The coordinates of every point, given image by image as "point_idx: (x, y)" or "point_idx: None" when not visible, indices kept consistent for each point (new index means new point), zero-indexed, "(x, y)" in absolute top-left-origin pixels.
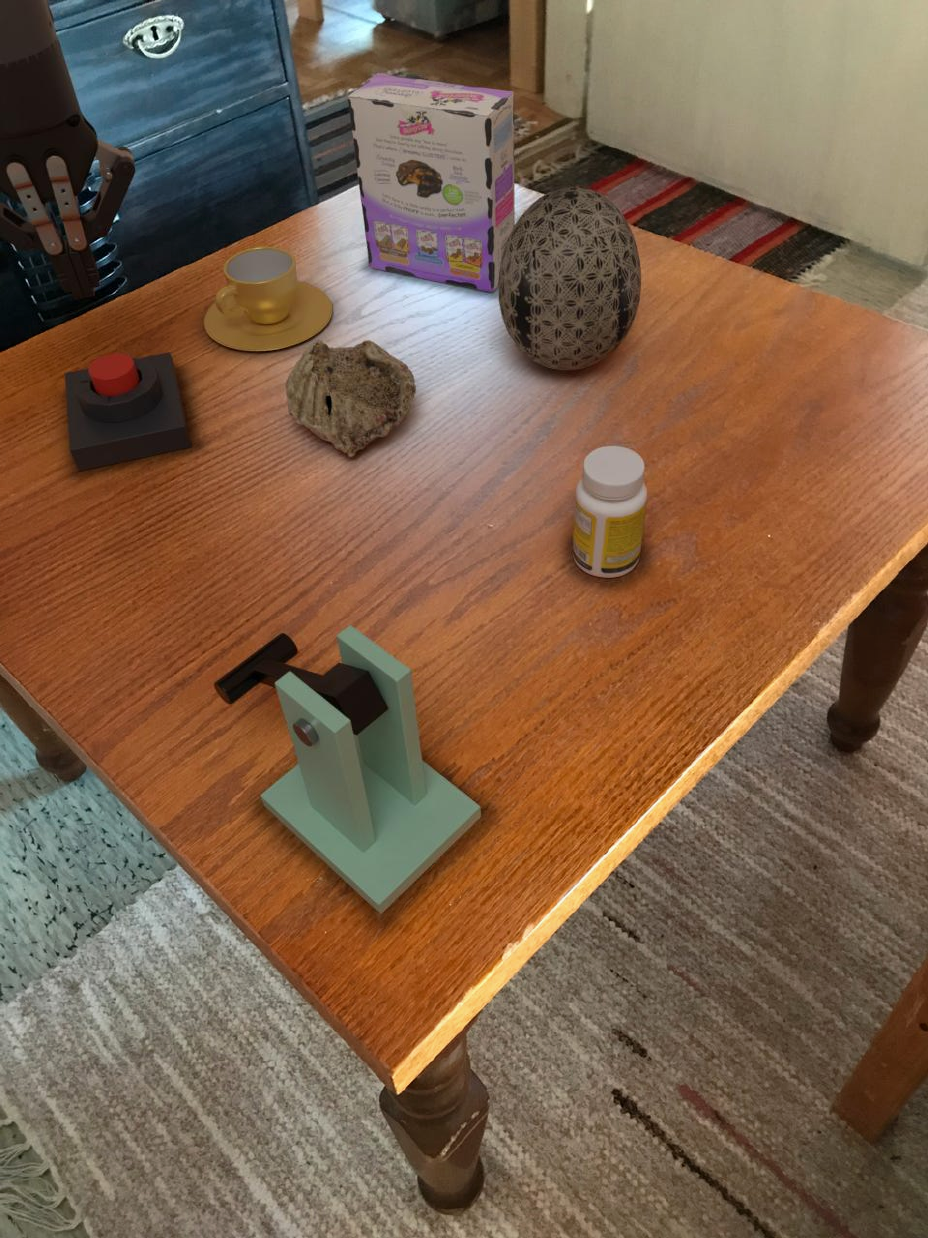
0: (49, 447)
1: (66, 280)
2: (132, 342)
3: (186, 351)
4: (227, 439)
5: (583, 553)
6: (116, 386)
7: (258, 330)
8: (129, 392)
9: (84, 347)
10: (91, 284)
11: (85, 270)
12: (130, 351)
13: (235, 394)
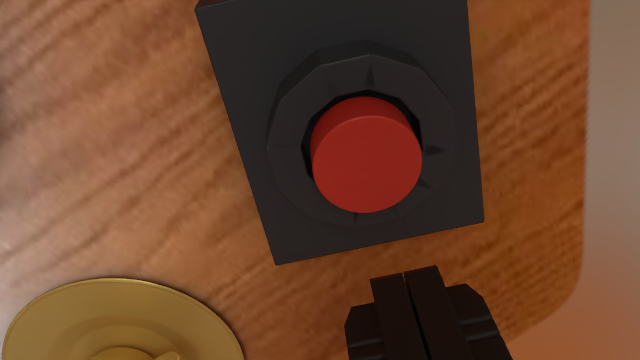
0: (510, 36)
1: (461, 317)
2: None
3: (267, 293)
4: (125, 15)
5: None
6: (353, 108)
7: (138, 334)
8: (324, 97)
9: None
10: (375, 311)
11: (385, 347)
12: (371, 300)
13: (143, 164)
